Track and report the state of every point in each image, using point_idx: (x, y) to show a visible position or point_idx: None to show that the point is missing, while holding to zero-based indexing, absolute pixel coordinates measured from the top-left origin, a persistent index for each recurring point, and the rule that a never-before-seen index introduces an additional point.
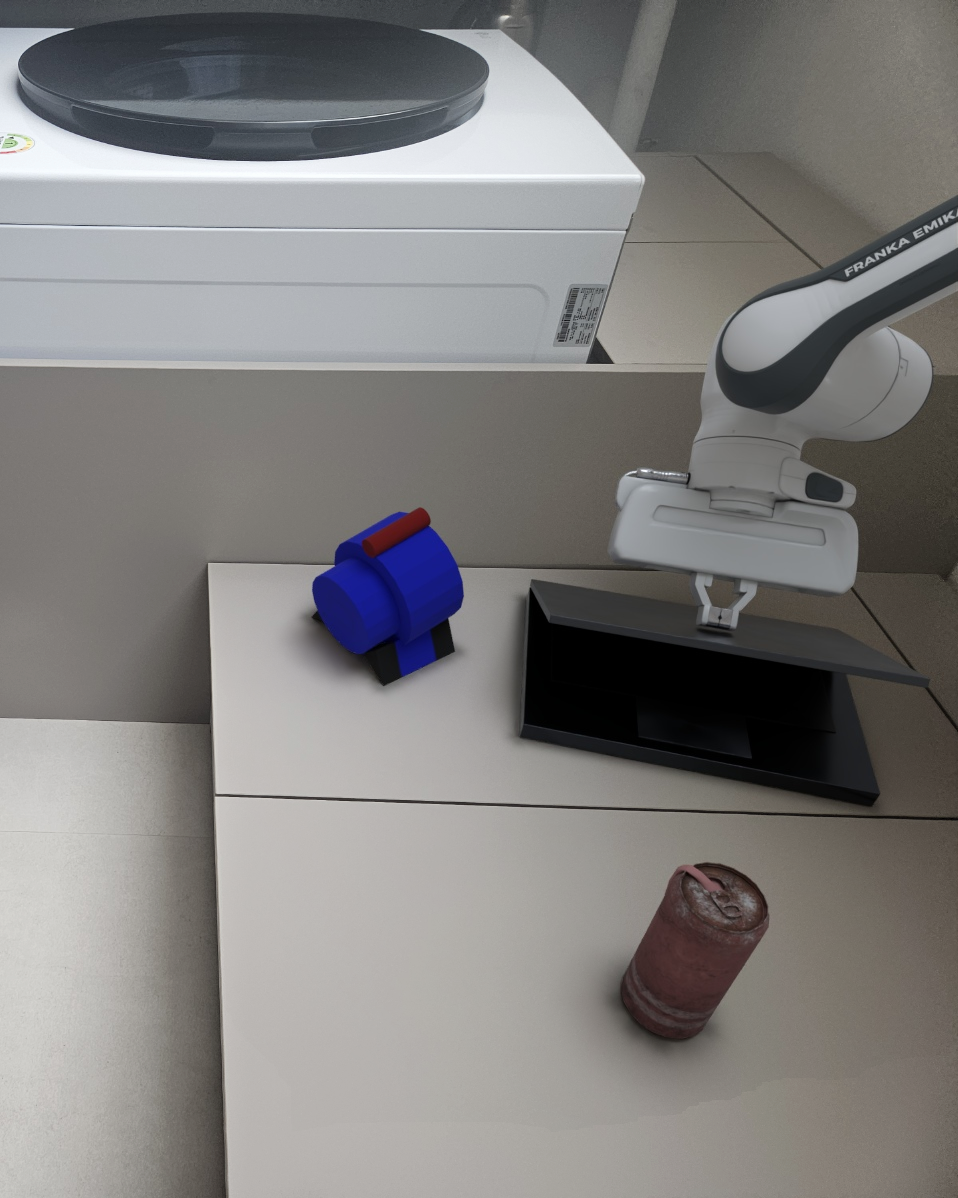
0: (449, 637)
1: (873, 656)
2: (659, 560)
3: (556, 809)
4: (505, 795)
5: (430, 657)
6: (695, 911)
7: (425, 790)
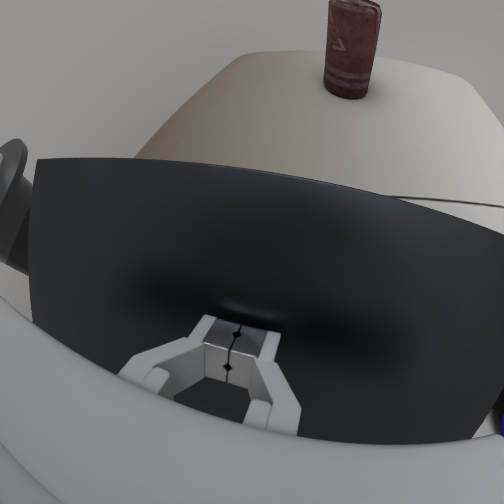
0: None
1: (40, 270)
2: (430, 450)
3: (411, 195)
4: (446, 209)
5: None
6: (370, 3)
7: (488, 214)
